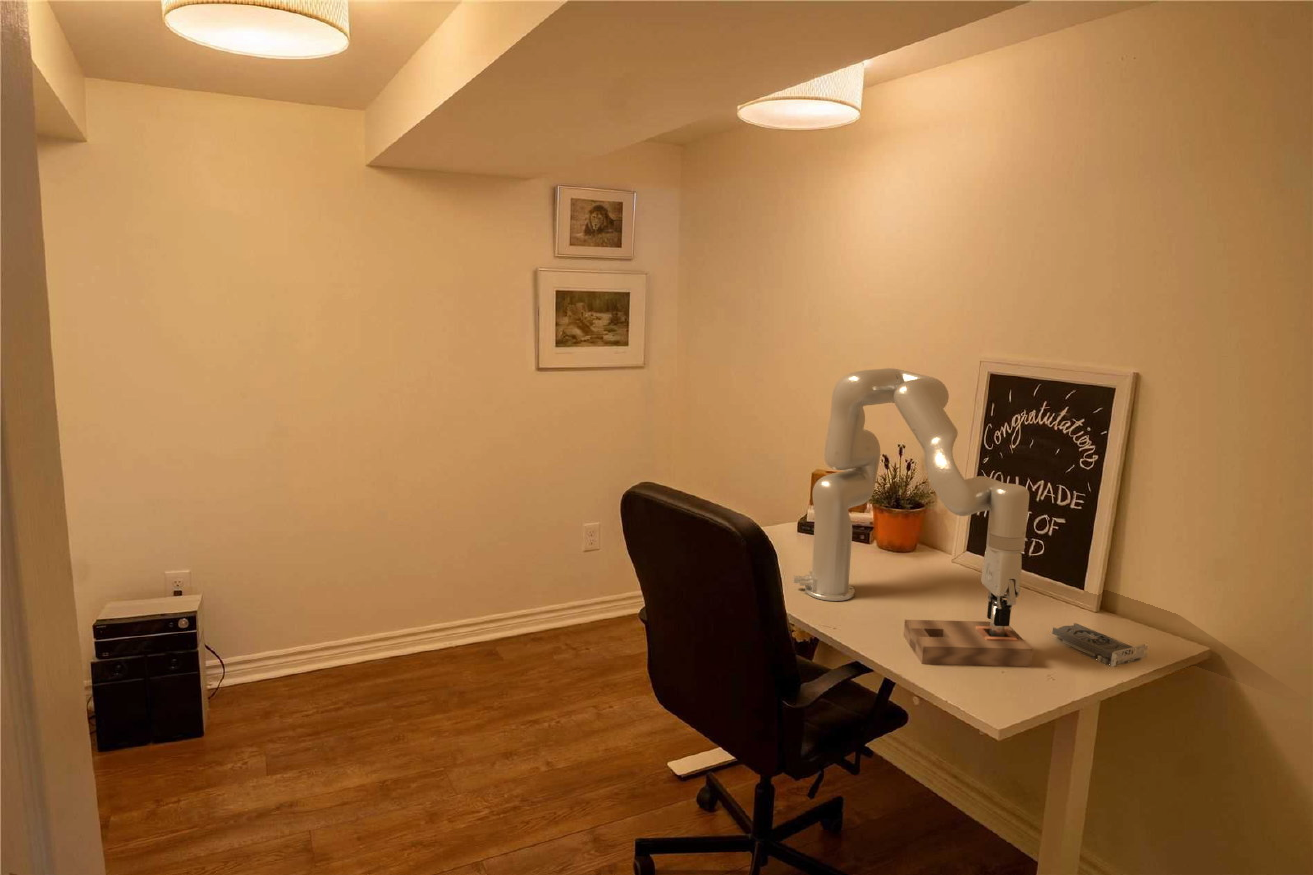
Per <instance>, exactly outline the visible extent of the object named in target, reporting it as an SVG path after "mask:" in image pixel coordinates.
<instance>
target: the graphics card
mask: <svg viewBox="0 0 1313 875" xmlns="http://www.w3.org/2000/svg"><path fill="white" fill-rule="evenodd" d="M1052 635H1054V636H1056V637H1059V640H1062V643H1064V644H1066V645H1068V646H1070V647H1072V648H1074V649H1077V650H1079V651H1081V652H1082V653H1081V652H1080V654H1081V655H1083V656H1085V657H1088V658H1090V659H1092V660H1094V661H1095V662H1098V663H1101V664H1102V665H1104V664H1105V666H1107V667H1111V668H1113V669H1116V667H1115V666H1116V664H1117V665H1128V664H1129V662H1133V663H1135V662H1139V661H1141V659H1143V658H1146V657H1147V654H1148V653H1147V652H1145V651H1147V650H1148V645H1146V644H1141V645H1136V646H1133V645H1129V644H1128V643H1124V642H1122V641H1120V640H1117V639H1115V638H1113V637H1111V636H1109V635H1106V634H1104V633H1102V632H1098V631H1096V630H1093V629H1090V628H1088V627H1087V626H1083V625H1081V624H1079V623H1076V622H1074V623H1073V625H1063V626H1060V627H1058V628H1057V627H1055V626H1054V627H1052ZM1096 659H1097V660H1096ZM1109 664H1110V665H1109Z"/></svg>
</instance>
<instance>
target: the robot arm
mask: <svg viewBox="0 0 1313 875" xmlns="http://www.w3.org/2000/svg"><path fill="white" fill-rule="evenodd" d="M947 388H948V387H947V386H946V385H945V384H944V383H943V382H942V381H941V380H940V379H938V378H935V377H933V376H928V375H924V374H920V373H915V372H911V371H907V370H904V369H900V368H899V369H898V368H892V367H891V368H889V367H888V368H877V369H864V370H859V371H854V372H851V373H849V374H846V375H844V376H842V377H841V378H839V380H838V381H837V382H836V383H835V385H834V388H833V390H832V395H831V408H830V416H829V422H828V428H827V434H826V435H827V436H826V441H825V448H824V460H825V463H826V465H827V466H828V467H829V468H830V469H832V470H835V471H838V472H833V473H829V474H826V475H824V476H822V477H821V478H819V479H817V481H816V482H815V484H814V485H813V488H812V495H811V496H812V503H813V511H814V512H813V513H814V514H813V515H814V526H813V546H812V547H813V548H812V563H811V564H812V565H811V571H809V572H808V574H805V576H803V575H793V577H792V578H793V579H792V581H793V582H792V583H793V584H799V586H801V587H803V586H804V592H805V593H806V594H807V595H809V596H810V597H813V598H815V599H818V600H823V601H829V602H831V601H832V602H840V601H842V602H843V601H848V600H850V599H852V598H853V597H854V596H855V592H856V591H855V589H854V587H853V586H851V585H850V574H851V573H850V571H851V570H850V569H851V559H852V557H851V556H852V542H853V541H852V539H853V524H852V519H851V516H850V512H849V509H851V508H854V507H855V508H856V507H858V506H861V505H864V504H866V503H868V502H869V501H870V499H871V498H872V496H873V494H874V491H875V487H876V481H877V475H878V470H879V466H880V460H881V459H880V458H881V445H880V442H879V439H878V437H877V436H876V435H875V434H874V433H873V432H872V431H870V430H868V429H864V428H865V423H866V413H865V409H864V407H866V406H873V405H874V406H875V405H882V404H883V405H884V404H890V403H891V404H894V405H895V406H896V409H897V411H898V412H899V413H900V415H901V416H902V418H903V420H904V421H905V423H906V424H907V427H908V428H909V429H910V430H911V432H912V434H913V435H914V437H915V438H916V440H917V442H918V443H919V444H920V446H921V449H923V455H924V456H923V457H924V461H923V462H924V466H925V471H926V476H927V479H928V481H929V484H930V486H931V487H932V489H933V491H934V492H935V494H936V495H937V497H938V498H939V500H940V502H941V503H942V504H943V506H944V507H945V508H946V509H947V510H948V511H949V512H951V513H952V514H953V515H956V516H960V517H968V516H971V515H974V514H977V513H980V512H987V511H988V512H989V513H988V521H987V522H988V524H987V534H986V548H985V552H984V557H983V564H982V568H981V569H982V570H981V580H980V581H981V584H982V585H983V586H984V587H985V588H986V589H987V590H988V596H987V599H988V603H987V604H988V606H987V613H986V618H987V619H988V620H991V611H992V600H993V599H994V598H997V608H995V614H994V625H995V626H1009V625H1010V622H1011V613H1012V609H1013V606H1016V605H1017V598H1018V597H1019V595H1020V593H1021V592H1020V591H1021V585H1022V584H1021V583H1022V560H1023V558H1022V553H1023V552H1024V551H1025V546H1026V534H1027V533H1026V532H1027V526H1028V524H1027V523H1028V515H1029V514H1028V513H1029V505H1030V504H1029V503H1030V491H1029V490H1028V488H1027V487H1026V486H1023V485H1020V484H1017V483H1016V484H1015V483H1005V482H1002V481H1001V480H1000V481H999V480H997V479H995V478H991V477H989V476H984V475H979V476H974V477H971V478H966V479H965V478H964V476H963V475H962V474H961V471H960V470H959V469H958V468H959V467H958V466H957V465H956V462H955V459H954V455H953V454H954V452H953V450H954V449H953V448H954V446H955V442H956V439H957V438H958V436H959V434H958V433H959V432H958V429H957V427H956V425H955V424H954V423H953V422H952V420H951V418H950V417H949V415H948V414H947V412H946V410H945V408H946V406H948V405H947V404H948V402H949V400H950V399H949V398H950V397H949V395H950V394H949V391H948V389H947ZM1002 599H1004V600H1003V601H1002Z"/></svg>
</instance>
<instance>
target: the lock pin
mask: <svg viewBox="0 0 1313 875" xmlns="http://www.w3.org/2000/svg"><path fill="white" fill-rule="evenodd" d="M1003 600H1005V598H1003V599H1002V601H1003ZM995 608H997V598H994V599H993V600H992V611H991V619H990V621H989V622H990V633H989V636H990V637H1004V633H1005V626H995V625H994V614H995Z"/></svg>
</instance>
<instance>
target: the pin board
mask: <svg viewBox="0 0 1313 875" xmlns="http://www.w3.org/2000/svg"><path fill="white" fill-rule="evenodd" d="M990 622H991V621H985V620H984V621H982V620H980V621H979V620H978V621H977V620H976V621H975V620H942V619H941V620H940V619H939V620H938V619H936V620H935V619H904V626H903V627H904V628H903V637H904V639H905V640H906V642H907V643H908V645H909V647H910V648H911V650H912V651H913V653H914V654H915V655H916V658H917V659H918V660H919V661H920V663H921V665H949V666H951V665H952V666H953V665H956V666H960V665H961V666H989V667H992V666H993V667H995V666H996V667H998V666H1002V667H1029V668H1031V666H1032V659H1033V658H1032V657H1033V648H1032V647H1031V646H1030V645H1029V643H1027V642H1026V640H1024V638H1022V636H1020V634H1019V633H1018V632H1017V631H1016V630H1015V629H1013V627H1012V626H1011V625H1010V624H1009V626H1005V633H1004V637H990V636H989V633H990Z"/></svg>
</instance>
